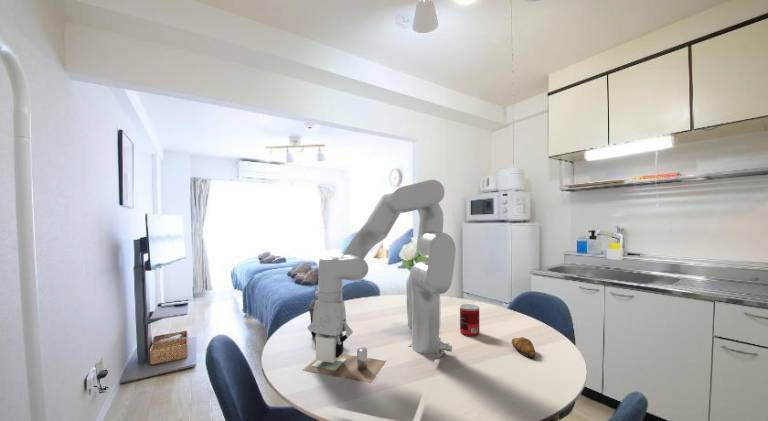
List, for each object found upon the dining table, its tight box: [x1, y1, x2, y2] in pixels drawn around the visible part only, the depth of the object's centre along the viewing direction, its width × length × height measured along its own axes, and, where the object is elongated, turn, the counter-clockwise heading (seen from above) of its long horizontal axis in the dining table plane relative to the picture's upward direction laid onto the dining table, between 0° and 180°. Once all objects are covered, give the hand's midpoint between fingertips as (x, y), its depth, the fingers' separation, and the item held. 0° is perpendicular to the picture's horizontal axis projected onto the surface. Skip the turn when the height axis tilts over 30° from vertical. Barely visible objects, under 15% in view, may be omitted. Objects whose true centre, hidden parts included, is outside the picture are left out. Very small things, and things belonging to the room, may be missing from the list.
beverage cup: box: [308, 286, 318, 340], centre depth 121 cm, size 7×7×20 cm
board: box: [301, 353, 387, 384], centre depth 94 cm, size 22×14×2 cm, turn 72°
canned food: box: [459, 303, 480, 337], centre depth 126 cm, size 8×8×11 cm
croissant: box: [511, 336, 536, 359], centre depth 108 cm, size 14×7×5 cm, turn 4°
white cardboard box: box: [315, 334, 343, 363], centre depth 95 cm, size 6×6×7 cm
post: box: [356, 347, 368, 371], centre depth 92 cm, size 3×3×6 cm
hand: (329, 353), depth 95 cm, fingers closed on white cardboard box, 6 cm apart
